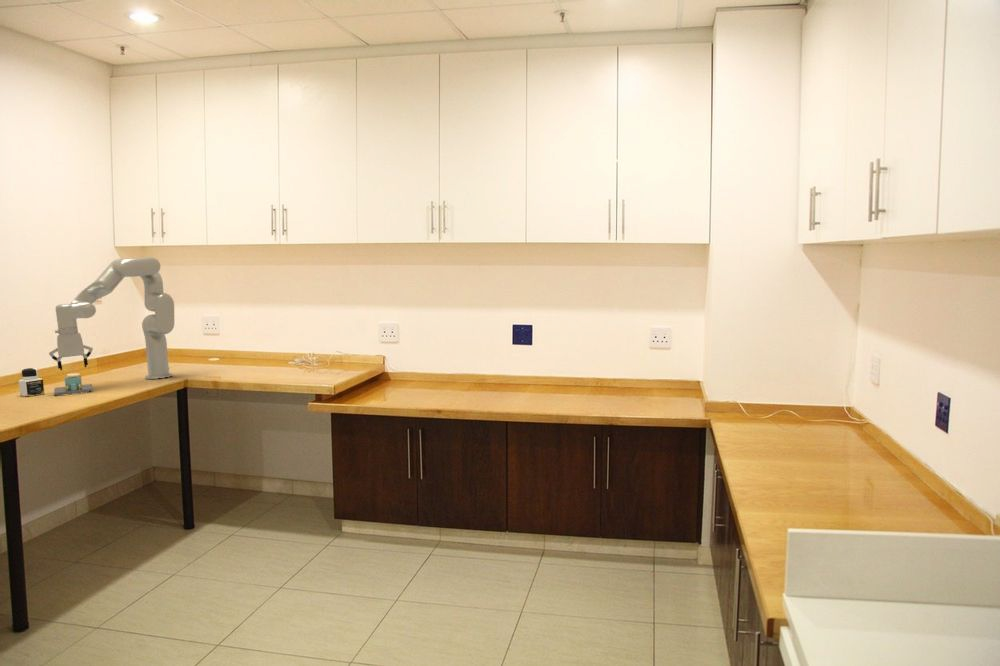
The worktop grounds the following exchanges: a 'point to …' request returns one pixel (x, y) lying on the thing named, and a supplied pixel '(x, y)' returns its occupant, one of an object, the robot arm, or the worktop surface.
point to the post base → (66, 390)
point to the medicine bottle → (30, 383)
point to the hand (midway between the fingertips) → (73, 368)
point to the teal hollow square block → (73, 382)
